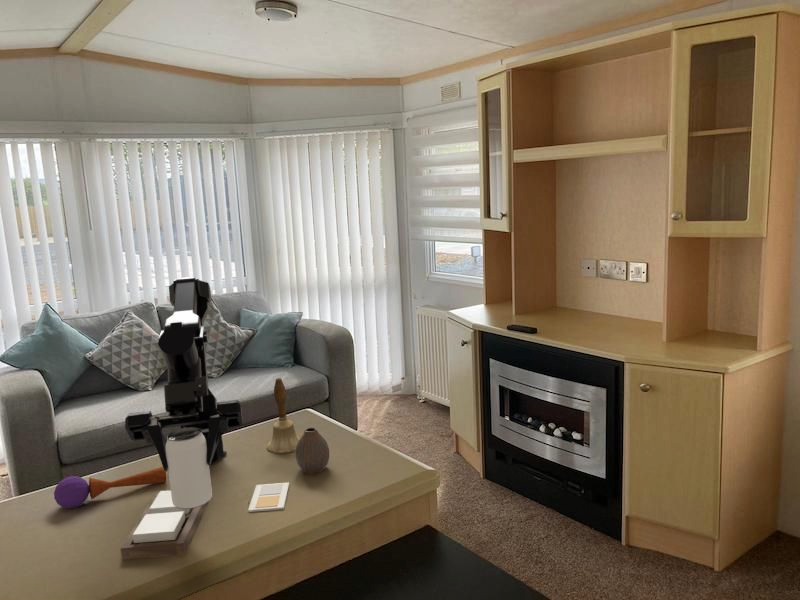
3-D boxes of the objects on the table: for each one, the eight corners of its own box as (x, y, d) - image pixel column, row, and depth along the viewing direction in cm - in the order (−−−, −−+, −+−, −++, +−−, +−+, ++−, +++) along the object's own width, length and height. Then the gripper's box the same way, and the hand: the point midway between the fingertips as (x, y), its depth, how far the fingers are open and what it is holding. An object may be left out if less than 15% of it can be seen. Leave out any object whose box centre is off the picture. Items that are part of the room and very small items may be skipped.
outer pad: (146, 522, 113) (145, 514, 113) (185, 519, 113) (184, 511, 113) (133, 543, 106) (132, 534, 106) (174, 539, 107) (173, 531, 106)
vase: (328, 476, 131) (325, 435, 130) (294, 477, 131) (290, 436, 130) (332, 461, 138) (329, 422, 136) (300, 463, 138) (296, 424, 137)
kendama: (167, 469, 130) (54, 490, 119) (167, 495, 132) (56, 518, 121) (161, 454, 135) (52, 473, 124) (161, 479, 136) (53, 500, 126)
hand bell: (304, 450, 145) (298, 381, 142) (266, 455, 143) (260, 386, 140) (302, 436, 153) (296, 371, 150) (266, 441, 151) (259, 375, 148)
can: (220, 496, 111) (213, 429, 109) (190, 513, 106) (181, 444, 103) (194, 488, 114) (186, 423, 112) (164, 504, 109) (155, 437, 107)
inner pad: (161, 498, 121) (160, 491, 121) (197, 495, 122) (196, 488, 121) (150, 516, 115) (149, 508, 115) (188, 513, 115) (187, 505, 115)
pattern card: (256, 486, 128) (256, 484, 128) (289, 484, 129) (289, 481, 129) (248, 512, 118) (248, 509, 118) (283, 509, 119) (283, 506, 119)
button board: (155, 505, 123) (154, 495, 122) (209, 501, 123) (207, 491, 123) (122, 559, 105) (120, 548, 105) (184, 554, 106) (183, 543, 106)
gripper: (119, 367, 107) (116, 457, 99) (235, 355, 111) (242, 440, 103) (132, 398, 116) (131, 482, 108) (240, 385, 120) (246, 465, 112)
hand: (187, 467), depth 107 cm, fingers closed on can, 6 cm apart
